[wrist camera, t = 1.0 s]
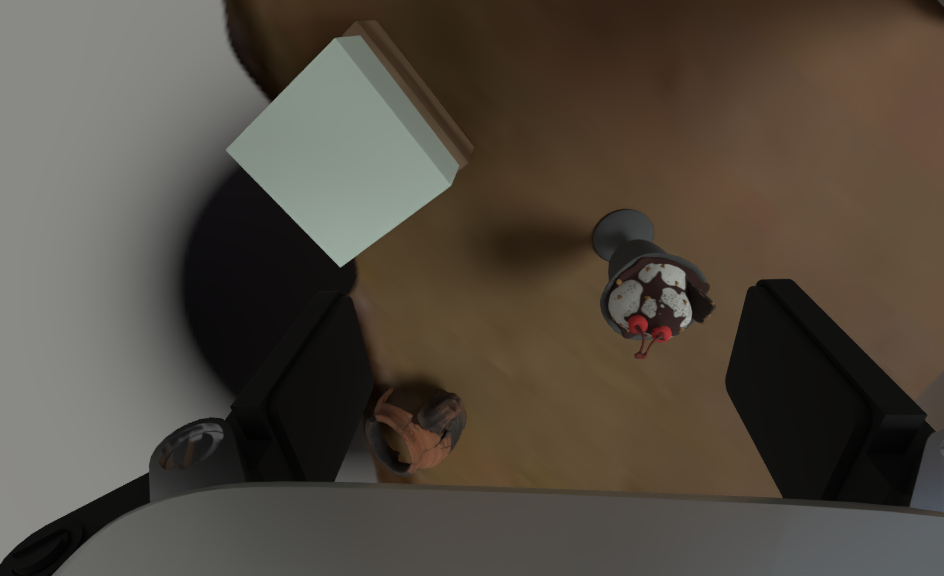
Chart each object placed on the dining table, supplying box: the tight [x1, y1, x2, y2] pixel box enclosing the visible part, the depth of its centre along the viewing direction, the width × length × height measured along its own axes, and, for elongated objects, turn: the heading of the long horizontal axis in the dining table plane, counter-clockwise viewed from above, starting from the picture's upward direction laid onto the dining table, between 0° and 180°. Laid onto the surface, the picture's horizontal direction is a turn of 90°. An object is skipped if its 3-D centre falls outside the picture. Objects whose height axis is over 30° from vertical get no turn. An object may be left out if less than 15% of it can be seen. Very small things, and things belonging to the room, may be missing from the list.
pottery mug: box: [365, 388, 466, 477], centre depth 47 cm, size 12×9×8 cm
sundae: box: [593, 209, 716, 359], centre depth 32 cm, size 7×7×15 cm
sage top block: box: [226, 35, 459, 267], centre depth 30 cm, size 10×10×4 cm
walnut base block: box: [341, 20, 474, 172], centre depth 34 cm, size 11×11×5 cm
